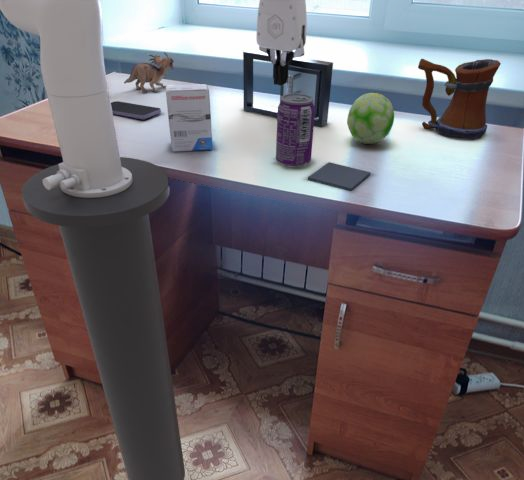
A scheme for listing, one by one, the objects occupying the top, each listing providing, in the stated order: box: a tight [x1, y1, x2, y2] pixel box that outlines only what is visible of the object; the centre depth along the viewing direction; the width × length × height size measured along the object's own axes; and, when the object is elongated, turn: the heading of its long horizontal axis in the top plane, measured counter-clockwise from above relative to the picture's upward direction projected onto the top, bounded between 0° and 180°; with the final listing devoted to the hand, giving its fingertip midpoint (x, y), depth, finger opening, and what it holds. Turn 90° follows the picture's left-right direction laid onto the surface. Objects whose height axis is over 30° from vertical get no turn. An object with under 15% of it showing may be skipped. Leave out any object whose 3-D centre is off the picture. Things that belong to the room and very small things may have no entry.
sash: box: [279, 66, 321, 118], centre depth 115 cm, size 6×10×10 cm, turn 58°
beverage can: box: [275, 94, 315, 168], centre depth 98 cm, size 7×7×12 cm
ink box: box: [165, 83, 213, 153], centre depth 103 cm, size 8×5×12 cm, turn 100°
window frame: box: [242, 49, 334, 128], centre depth 119 cm, size 3×22×13 cm, turn 58°
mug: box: [417, 58, 501, 141], centre depth 113 cm, size 18×12×15 cm, turn 77°
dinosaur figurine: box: [123, 52, 175, 94], centre depth 136 cm, size 14×6×9 cm, turn 101°
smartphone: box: [111, 100, 162, 121], centre depth 124 cm, size 7×1×15 cm
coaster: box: [307, 162, 372, 192], centre depth 96 cm, size 9×9×1 cm
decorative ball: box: [346, 92, 395, 145], centre depth 108 cm, size 10×10×10 cm
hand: (280, 83), depth 114 cm, fingers closed
